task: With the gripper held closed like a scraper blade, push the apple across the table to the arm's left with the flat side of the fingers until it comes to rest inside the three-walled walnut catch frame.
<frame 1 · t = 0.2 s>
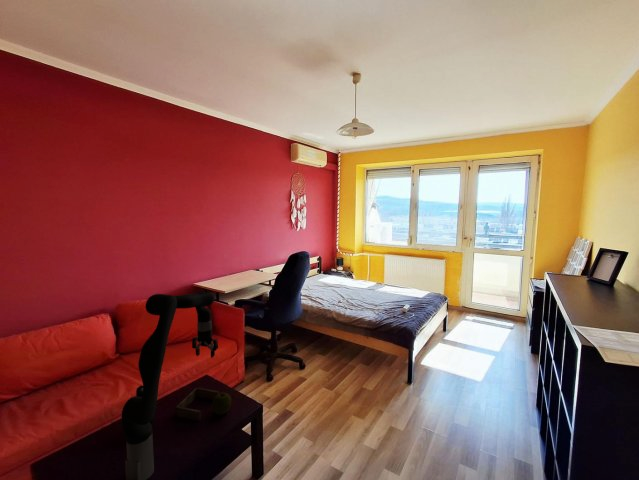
hand: (205, 356, 163), 29 cm above the table, fingers open, 8 cm apart
catch frame: (199, 407, 164), on the table
apple: (222, 412, 161), on the table
travel mug: (146, 424, 151), on the table
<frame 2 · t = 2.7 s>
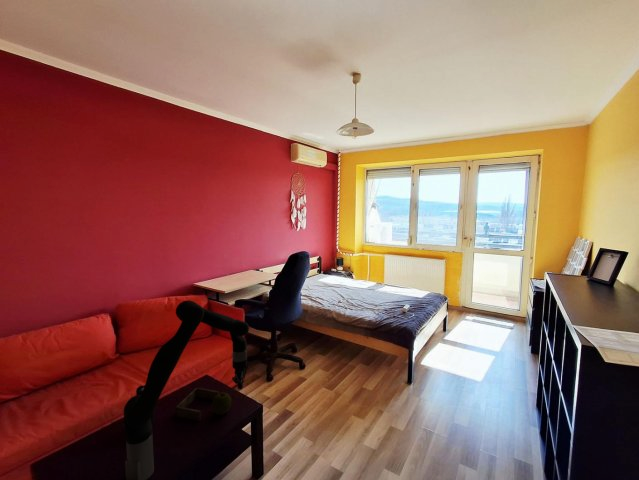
hand: (240, 388, 157), 15 cm above the table, fingers closed
nothing on the table moved.
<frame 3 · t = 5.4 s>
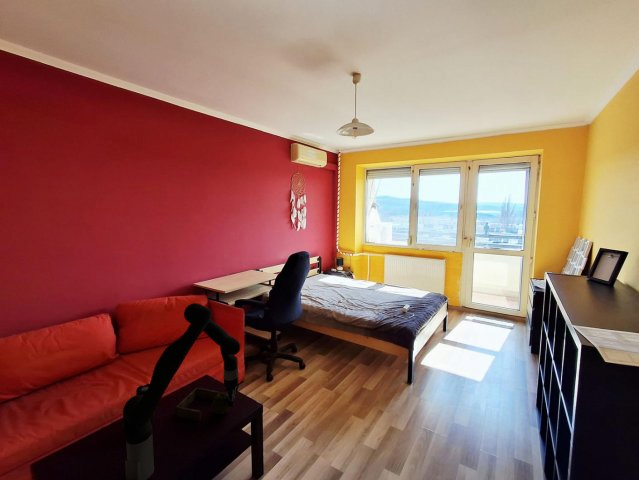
hand: (231, 406, 159), 5 cm above the table, fingers closed
apple: (221, 412, 161), on the table, touching gripper
everything else where it was.
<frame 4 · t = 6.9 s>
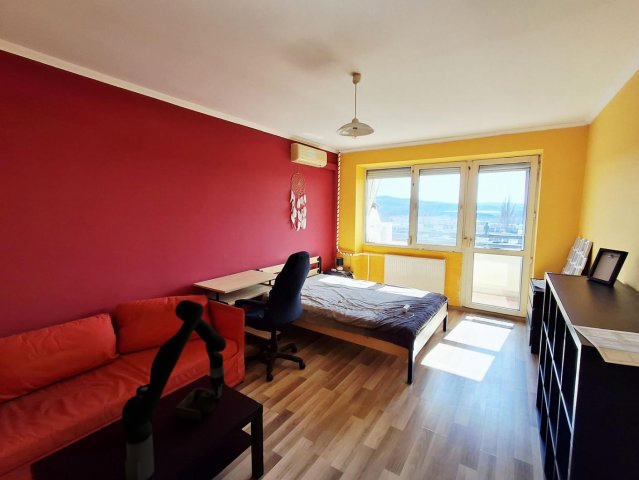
hand: (217, 403, 161), 5 cm above the table, fingers closed
apple: (207, 410, 162), on the table, touching gripper
everything else where it was.
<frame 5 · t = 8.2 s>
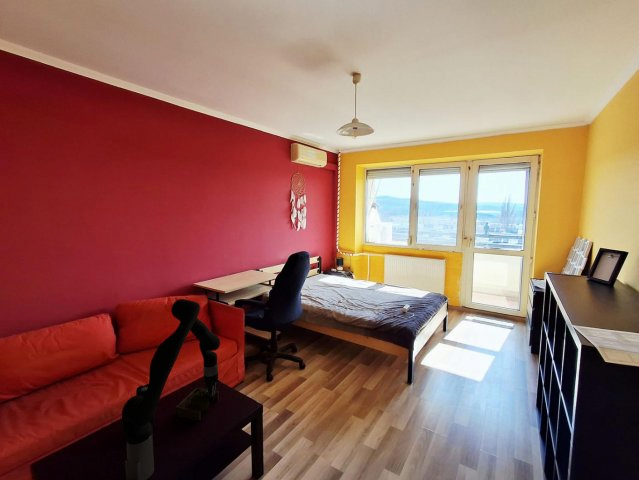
hand: (211, 401, 162), 5 cm above the table, fingers closed
apple: (201, 409, 162), on the table, touching gripper
everything else where it was.
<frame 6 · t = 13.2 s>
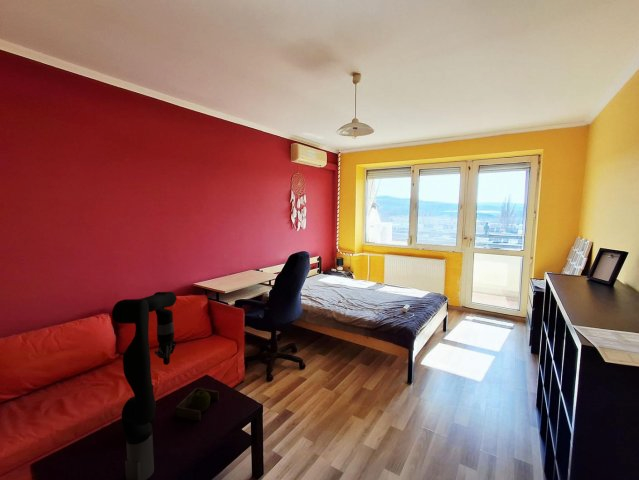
hand: (166, 363, 149), 32 cm above the table, fingers closed
apple: (201, 409, 162), on the table
everything else where it was.
at the end: apple inside the target area (3.2 cm from its centre), on the table; apple moved 12.1 cm from its start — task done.
